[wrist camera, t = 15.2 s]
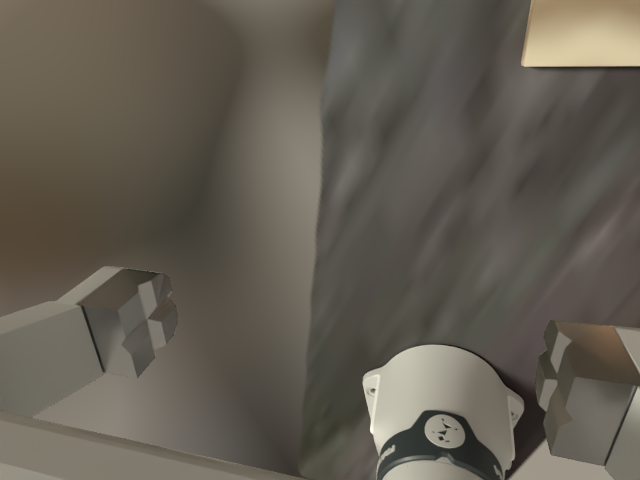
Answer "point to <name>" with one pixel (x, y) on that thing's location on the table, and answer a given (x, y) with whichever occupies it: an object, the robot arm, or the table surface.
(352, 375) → the table surface
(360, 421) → the table surface
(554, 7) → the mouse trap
